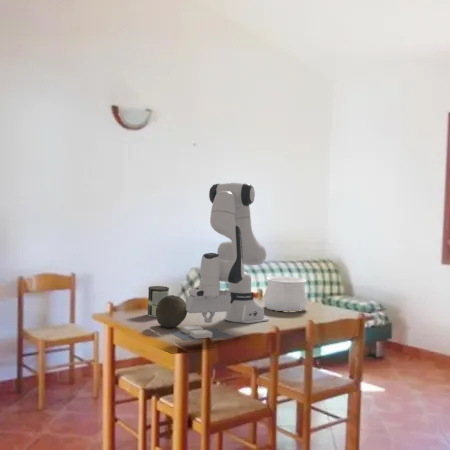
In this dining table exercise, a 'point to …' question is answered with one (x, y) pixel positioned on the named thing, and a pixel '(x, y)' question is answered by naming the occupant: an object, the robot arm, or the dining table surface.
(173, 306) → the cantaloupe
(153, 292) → the coffee can
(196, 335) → the tile
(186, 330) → the tile
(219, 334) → the mat
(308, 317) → the dining table surface
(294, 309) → the pot
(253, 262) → the robot arm
